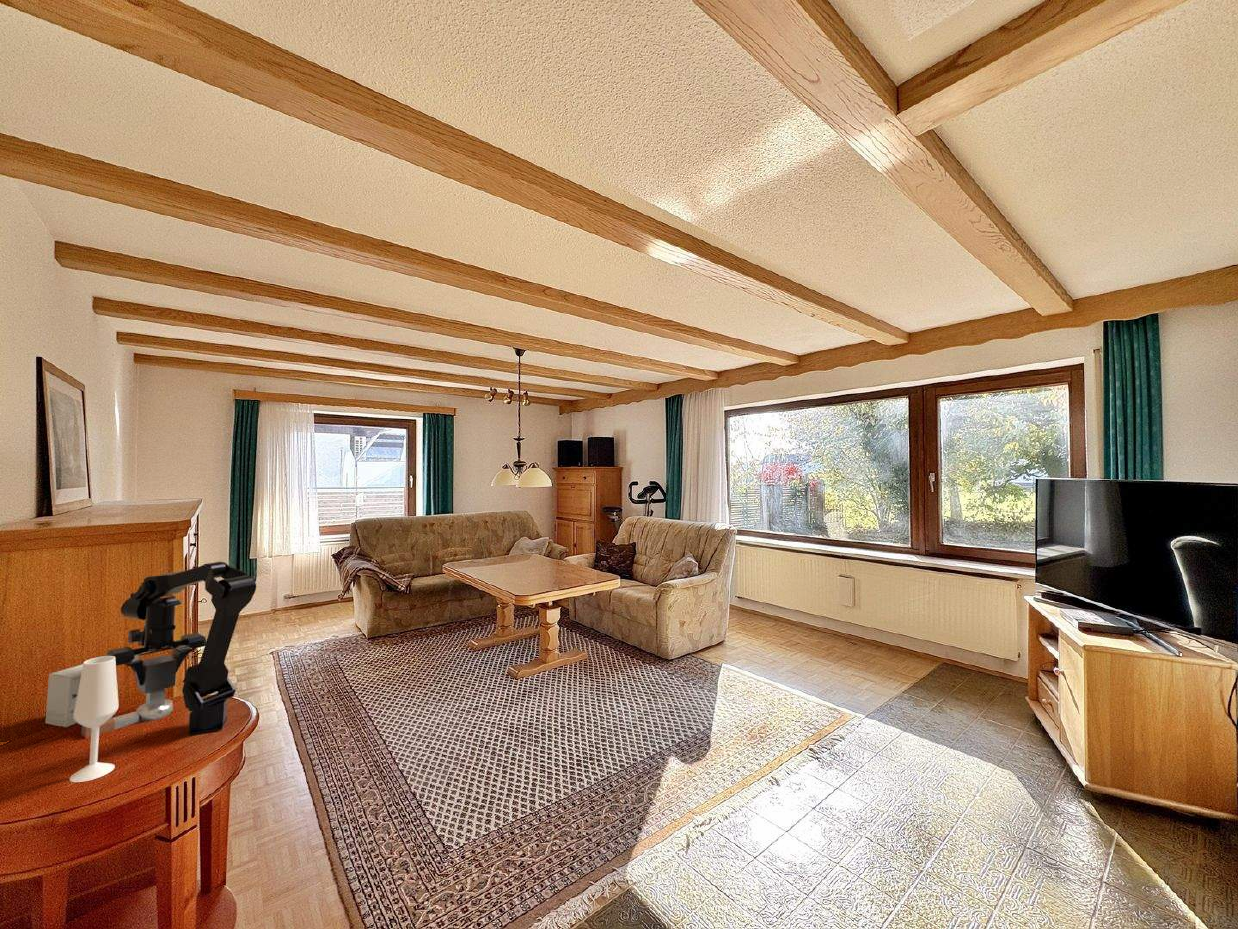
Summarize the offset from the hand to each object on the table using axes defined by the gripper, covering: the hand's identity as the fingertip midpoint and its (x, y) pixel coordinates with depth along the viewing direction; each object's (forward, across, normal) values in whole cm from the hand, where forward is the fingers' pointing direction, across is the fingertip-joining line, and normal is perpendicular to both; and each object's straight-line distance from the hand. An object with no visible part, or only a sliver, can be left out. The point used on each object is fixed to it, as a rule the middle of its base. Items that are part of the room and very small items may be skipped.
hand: (156, 681), depth 131 cm
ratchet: (+9, +5, 0) cm, 10 cm away
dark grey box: (+2, 0, 0) cm, 2 cm away
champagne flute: (+9, +16, +21) cm, 28 cm away
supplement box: (+9, +12, -13) cm, 20 cm away
